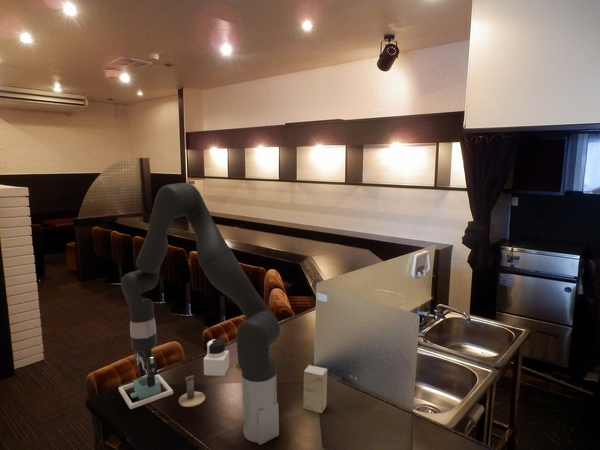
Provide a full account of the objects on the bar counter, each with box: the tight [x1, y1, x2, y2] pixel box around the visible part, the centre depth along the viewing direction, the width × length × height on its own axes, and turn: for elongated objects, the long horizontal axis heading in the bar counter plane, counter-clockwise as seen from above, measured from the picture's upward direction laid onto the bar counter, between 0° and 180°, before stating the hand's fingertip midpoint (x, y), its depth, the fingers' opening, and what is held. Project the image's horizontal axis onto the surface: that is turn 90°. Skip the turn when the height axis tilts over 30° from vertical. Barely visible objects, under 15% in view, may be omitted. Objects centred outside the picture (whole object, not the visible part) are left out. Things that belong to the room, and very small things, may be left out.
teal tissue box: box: [129, 375, 162, 400], centre depth 126 cm, size 8×6×4 cm
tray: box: [118, 373, 174, 410], centre depth 126 cm, size 13×13×2 cm
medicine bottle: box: [202, 338, 230, 377], centre depth 139 cm, size 7×7×12 cm
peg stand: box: [178, 374, 206, 408], centre depth 122 cm, size 8×8×8 cm
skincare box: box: [302, 364, 328, 414], centre depth 118 cm, size 6×4×12 cm
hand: (147, 380), depth 126 cm, fingers open, 8 cm apart
